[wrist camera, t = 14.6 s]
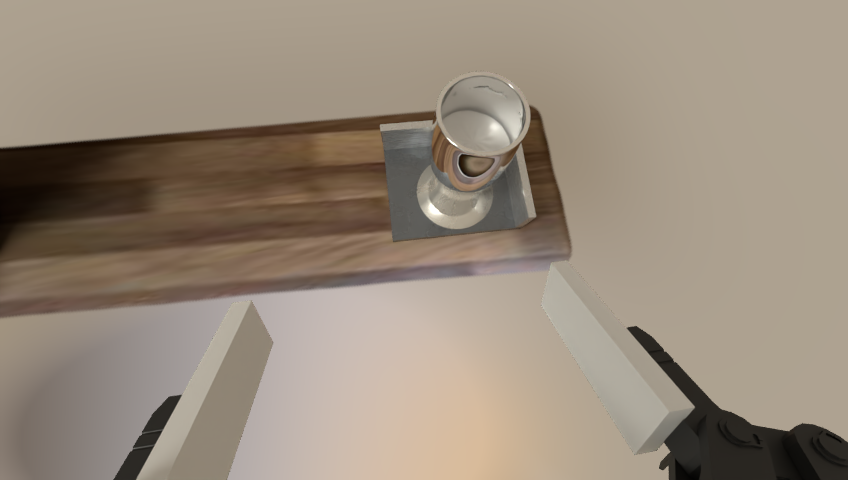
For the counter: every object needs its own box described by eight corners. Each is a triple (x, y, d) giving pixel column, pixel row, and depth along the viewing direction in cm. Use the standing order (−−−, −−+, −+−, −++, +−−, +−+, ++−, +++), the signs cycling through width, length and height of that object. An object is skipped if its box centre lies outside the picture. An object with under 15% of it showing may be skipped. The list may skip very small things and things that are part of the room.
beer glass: (462, 232, 34) (500, 178, 19) (412, 198, 35) (412, 121, 20) (494, 185, 35) (552, 102, 21) (445, 154, 36) (468, 51, 21)
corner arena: (393, 241, 34) (390, 232, 30) (383, 147, 37) (379, 124, 32) (519, 228, 35) (536, 216, 31) (502, 137, 38) (515, 113, 33)
